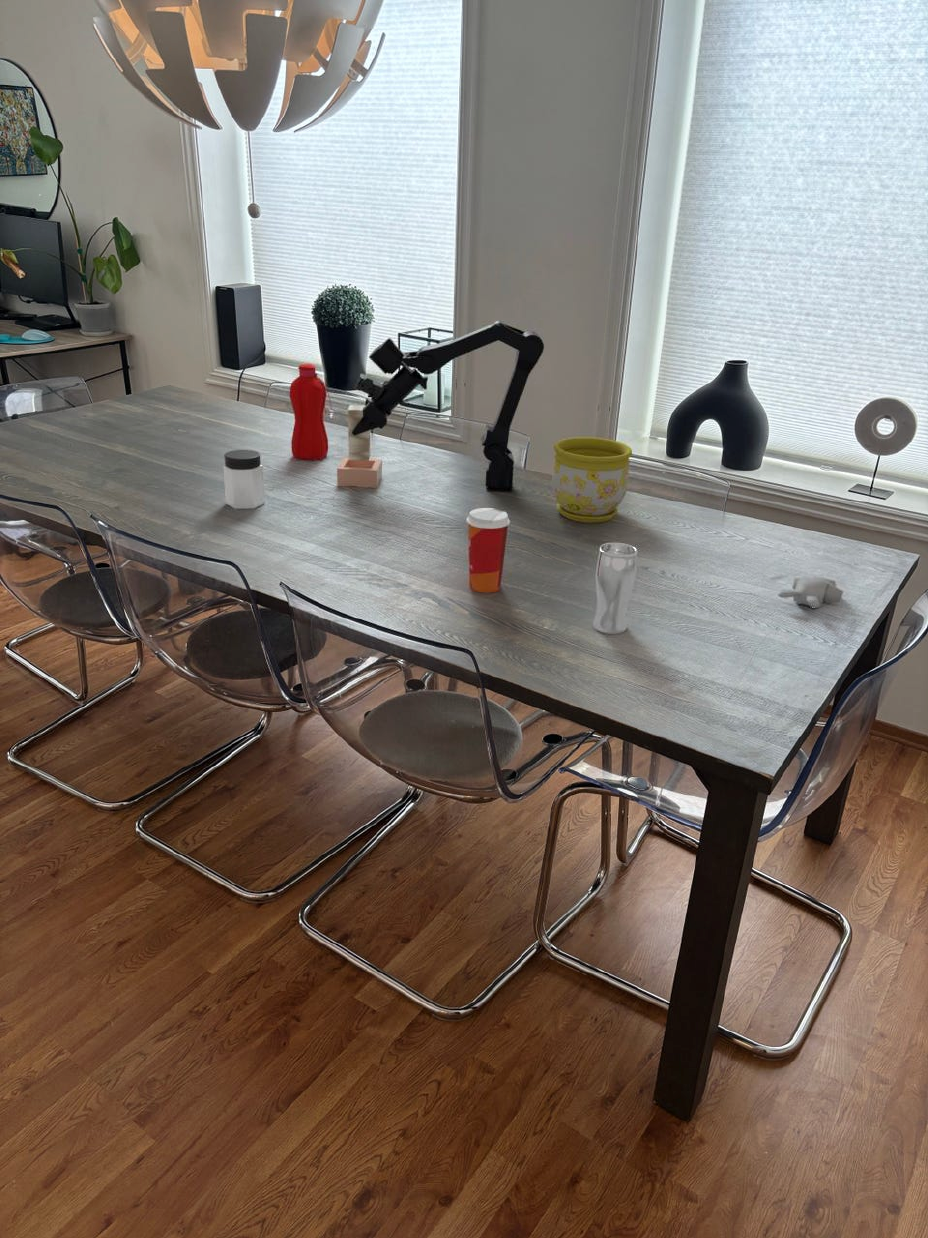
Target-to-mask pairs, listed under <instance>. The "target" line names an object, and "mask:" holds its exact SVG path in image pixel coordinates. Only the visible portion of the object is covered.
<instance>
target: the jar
mask: <svg viewBox="0 0 928 1238" xmlns="http://www.w3.org/2000/svg"><path fill="white" fill-rule="evenodd" d="M261 461H262V460H261V453H259V452H258V451H257V450H253V449H235V450H230V451H229V450H228V451H227V452H225V453H224V465H223V466H222V467H223V480H224V491H225V492H224V495H225V504H226V505H228V506H230V507H231V508H233V509H234V510H239V509H240V510H243V509H245V510H246V509H247V510H249V509H250V510H251V509H252V510H254V509H256V508H258V507H259V506H262V505H264V504H265V502H266V501H265V486H264V485H265V484H264V466H263V464H261Z"/></svg>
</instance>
